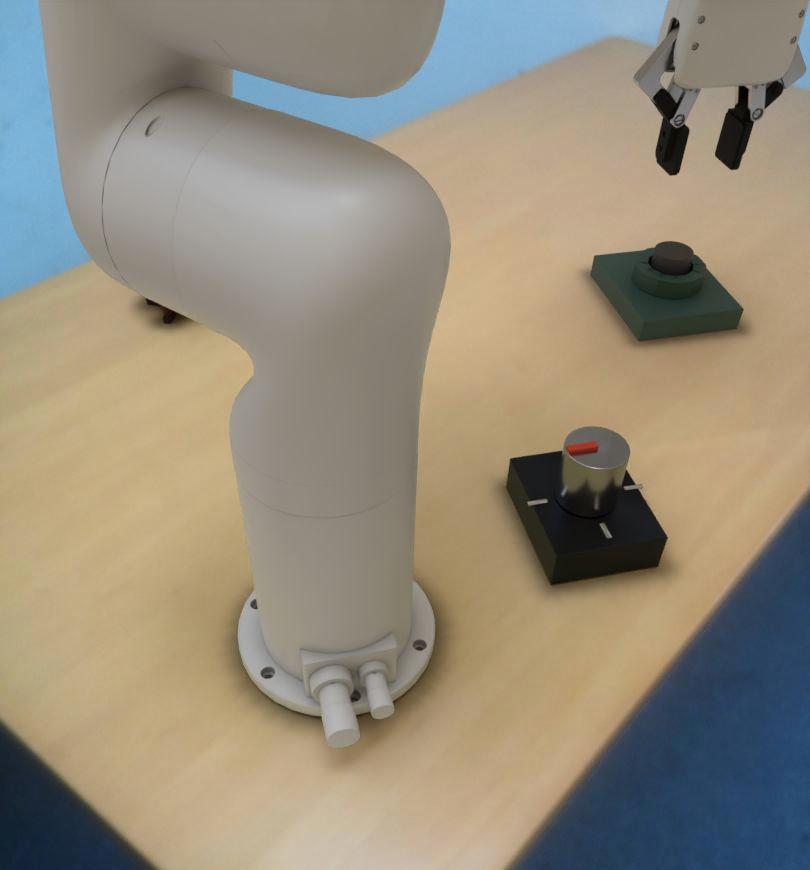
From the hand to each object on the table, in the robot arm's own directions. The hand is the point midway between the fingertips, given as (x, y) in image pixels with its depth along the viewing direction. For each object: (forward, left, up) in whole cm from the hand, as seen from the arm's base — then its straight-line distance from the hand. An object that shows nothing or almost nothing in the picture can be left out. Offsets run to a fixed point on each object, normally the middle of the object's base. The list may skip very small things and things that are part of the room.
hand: (697, 163), depth 75 cm
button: (0, 0, -10) cm, 10 cm away
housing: (0, 0, -13) cm, 13 cm away
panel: (-27, +19, -13) cm, 36 cm away
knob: (-27, +19, -10) cm, 35 cm away
